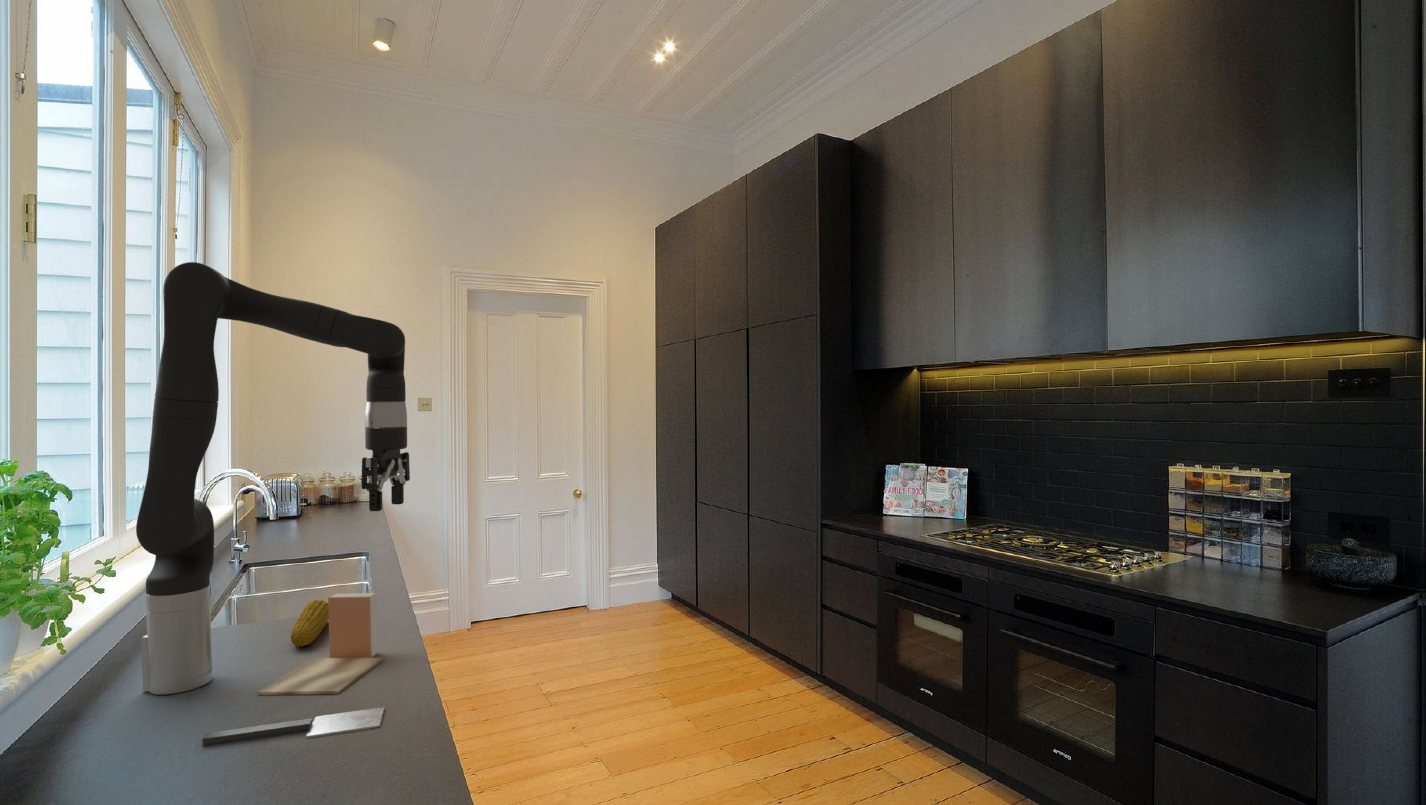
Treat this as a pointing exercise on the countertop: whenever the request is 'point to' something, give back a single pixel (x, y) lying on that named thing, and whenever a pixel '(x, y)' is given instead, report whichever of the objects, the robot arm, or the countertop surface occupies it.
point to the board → (321, 676)
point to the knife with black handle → (302, 727)
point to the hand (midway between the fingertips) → (386, 507)
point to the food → (310, 623)
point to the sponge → (352, 625)
